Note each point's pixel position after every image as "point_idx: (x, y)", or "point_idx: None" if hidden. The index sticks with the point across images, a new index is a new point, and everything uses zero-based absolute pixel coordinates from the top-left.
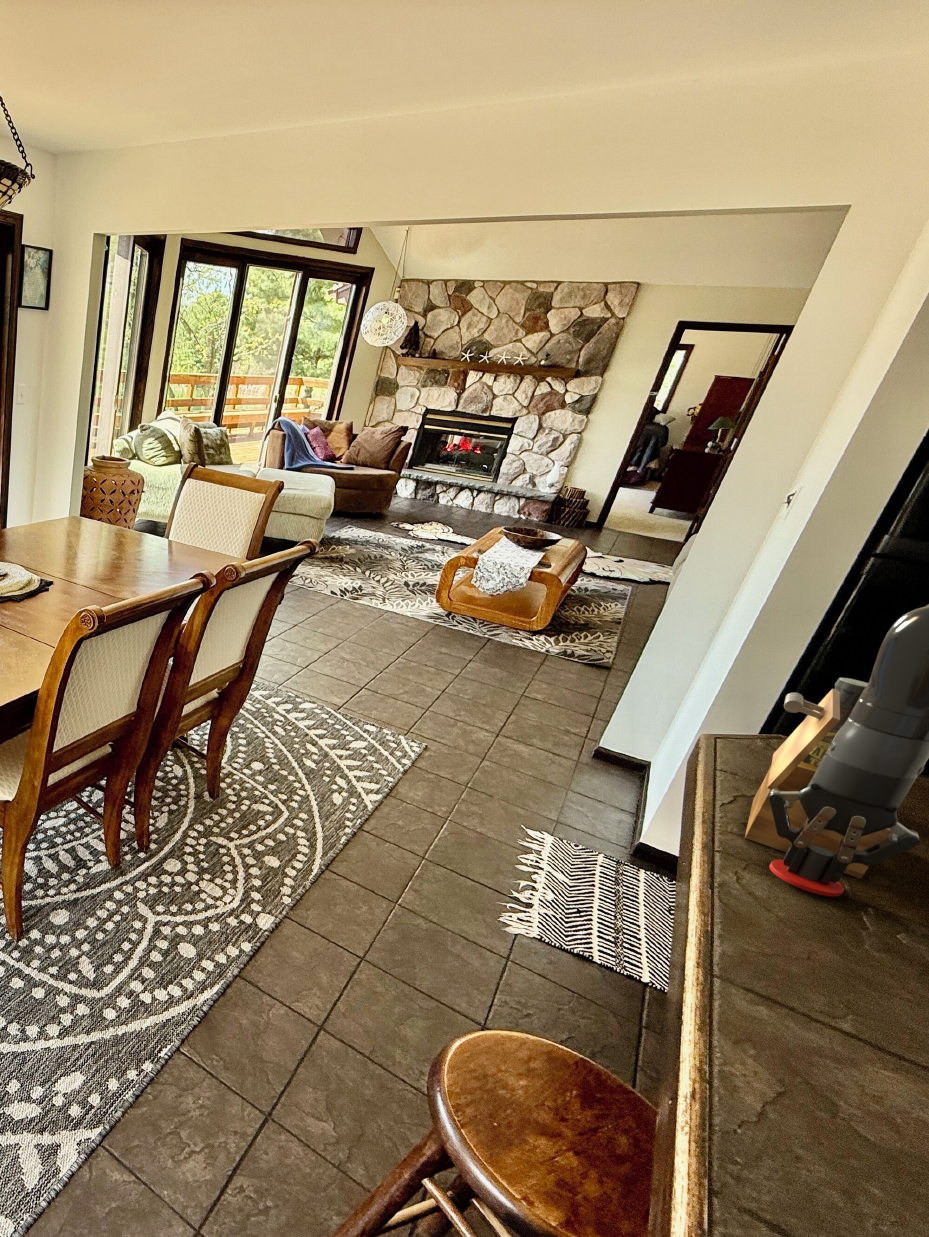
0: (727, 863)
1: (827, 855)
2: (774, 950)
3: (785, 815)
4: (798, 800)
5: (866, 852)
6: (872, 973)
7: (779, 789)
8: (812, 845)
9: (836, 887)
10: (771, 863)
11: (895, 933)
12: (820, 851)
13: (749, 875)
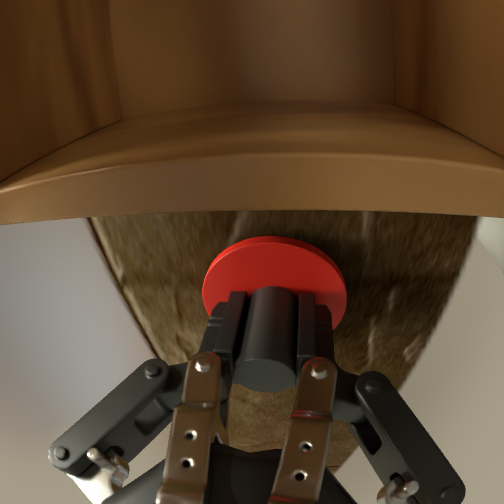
0: (156, 319)
1: (280, 389)
2: (261, 441)
3: (139, 449)
4: (41, 202)
5: (360, 412)
6: (342, 427)
7: (57, 467)
8: (241, 364)
9: (331, 311)
10: (204, 304)
11: (405, 345)
12: (263, 384)
13: (195, 335)
